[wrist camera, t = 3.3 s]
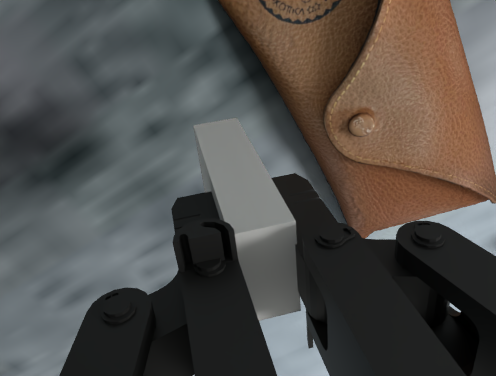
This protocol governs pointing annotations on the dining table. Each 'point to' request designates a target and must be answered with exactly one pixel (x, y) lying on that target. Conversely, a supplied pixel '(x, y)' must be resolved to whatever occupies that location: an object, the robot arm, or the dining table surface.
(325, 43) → the sunglasses case
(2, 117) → the dining table surface
